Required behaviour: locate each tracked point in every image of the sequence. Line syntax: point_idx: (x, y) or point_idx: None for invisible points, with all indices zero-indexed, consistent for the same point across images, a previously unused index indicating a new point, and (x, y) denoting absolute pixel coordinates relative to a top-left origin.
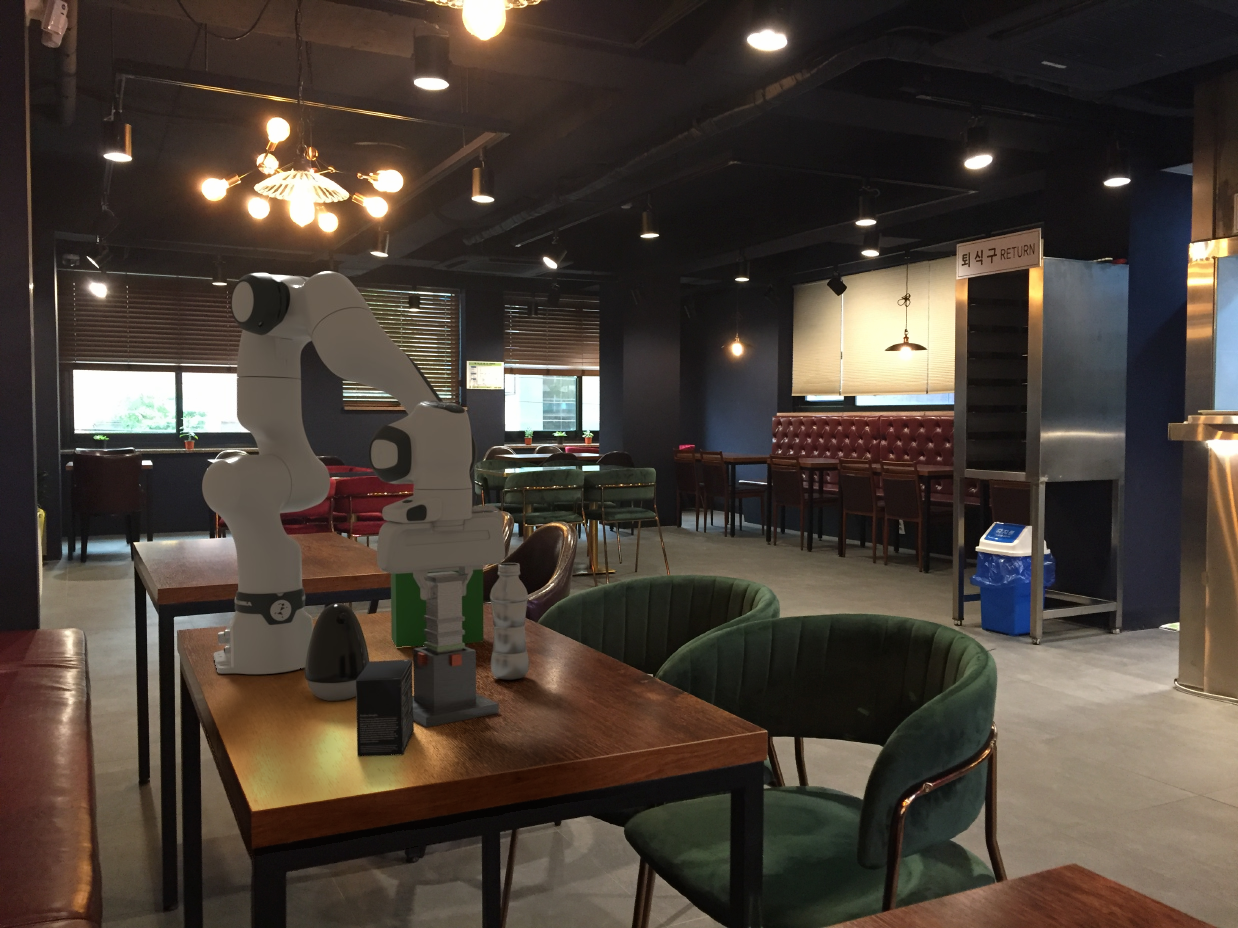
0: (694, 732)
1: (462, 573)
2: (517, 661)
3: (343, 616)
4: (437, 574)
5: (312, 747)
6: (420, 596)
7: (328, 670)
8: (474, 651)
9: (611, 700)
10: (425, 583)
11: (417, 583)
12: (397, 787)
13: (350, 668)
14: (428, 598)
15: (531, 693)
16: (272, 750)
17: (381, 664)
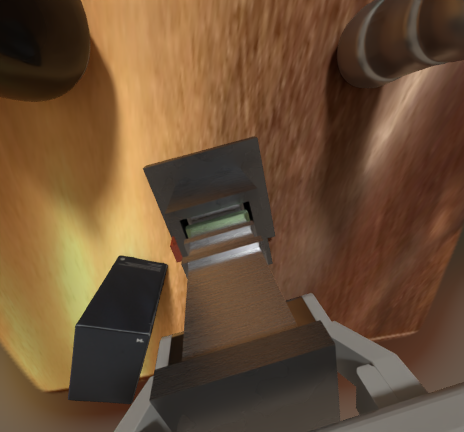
0: (384, 323)
1: (363, 363)
2: (381, 84)
3: None
4: (234, 415)
5: (54, 283)
6: (160, 340)
7: None
8: (269, 262)
9: (396, 225)
10: (168, 428)
11: (137, 399)
12: (144, 374)
13: (36, 94)
14: None
15: (341, 161)
16: (6, 281)
17: (99, 351)
